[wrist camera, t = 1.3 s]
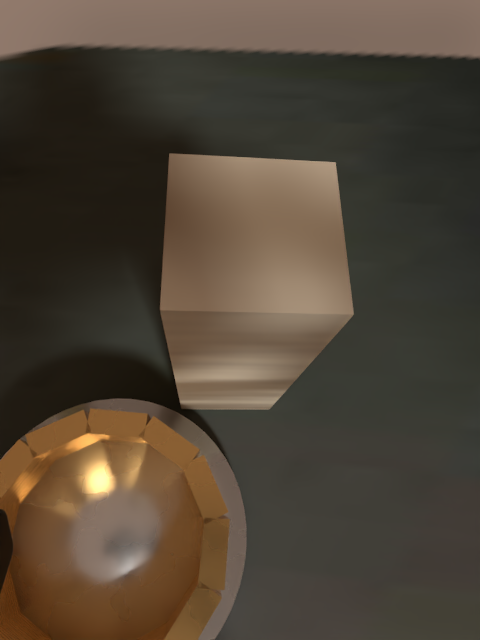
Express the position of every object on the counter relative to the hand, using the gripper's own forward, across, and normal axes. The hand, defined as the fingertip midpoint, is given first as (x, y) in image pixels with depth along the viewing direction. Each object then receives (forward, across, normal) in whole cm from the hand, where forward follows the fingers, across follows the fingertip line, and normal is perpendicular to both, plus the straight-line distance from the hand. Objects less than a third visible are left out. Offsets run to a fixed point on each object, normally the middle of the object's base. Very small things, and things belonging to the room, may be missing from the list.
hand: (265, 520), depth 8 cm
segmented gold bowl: (+9, +5, +10) cm, 15 cm away
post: (+14, 0, +5) cm, 15 cm away
